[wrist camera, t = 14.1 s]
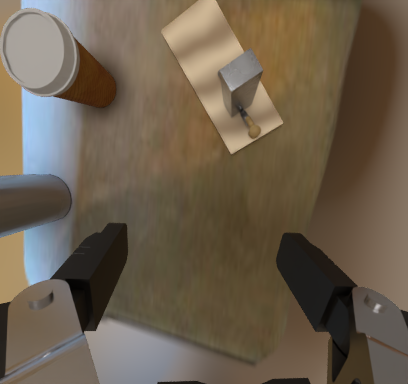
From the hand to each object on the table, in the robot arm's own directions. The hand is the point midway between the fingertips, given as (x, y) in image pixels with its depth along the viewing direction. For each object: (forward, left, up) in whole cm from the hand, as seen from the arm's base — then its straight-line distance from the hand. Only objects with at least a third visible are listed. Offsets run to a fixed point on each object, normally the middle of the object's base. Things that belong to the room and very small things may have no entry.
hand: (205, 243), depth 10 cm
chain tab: (-4, +13, -22) cm, 26 cm away
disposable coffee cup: (-27, +7, -24) cm, 37 cm away
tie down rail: (-8, +16, -24) cm, 30 cm away
